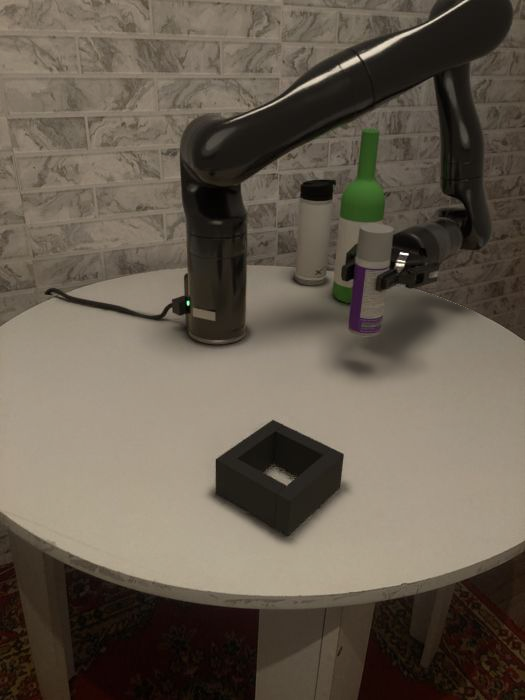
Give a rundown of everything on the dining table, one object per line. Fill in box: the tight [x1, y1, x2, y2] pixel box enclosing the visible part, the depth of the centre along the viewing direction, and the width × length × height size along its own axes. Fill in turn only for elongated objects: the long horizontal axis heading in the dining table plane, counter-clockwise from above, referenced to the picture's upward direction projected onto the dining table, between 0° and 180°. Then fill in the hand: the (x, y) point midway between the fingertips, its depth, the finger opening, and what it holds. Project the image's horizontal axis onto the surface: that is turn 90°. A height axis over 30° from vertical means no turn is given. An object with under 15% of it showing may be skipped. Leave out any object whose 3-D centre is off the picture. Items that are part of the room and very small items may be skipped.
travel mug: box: [294, 178, 337, 287], centre depth 115 cm, size 6×7×20 cm
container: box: [347, 223, 395, 338], centre depth 82 cm, size 5×5×15 cm
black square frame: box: [215, 419, 345, 537], centre depth 63 cm, size 10×10×4 cm
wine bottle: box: [332, 128, 386, 304], centre depth 106 cm, size 8×8×30 cm
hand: (361, 279), depth 80 cm, fingers closed on container, 4 cm apart
